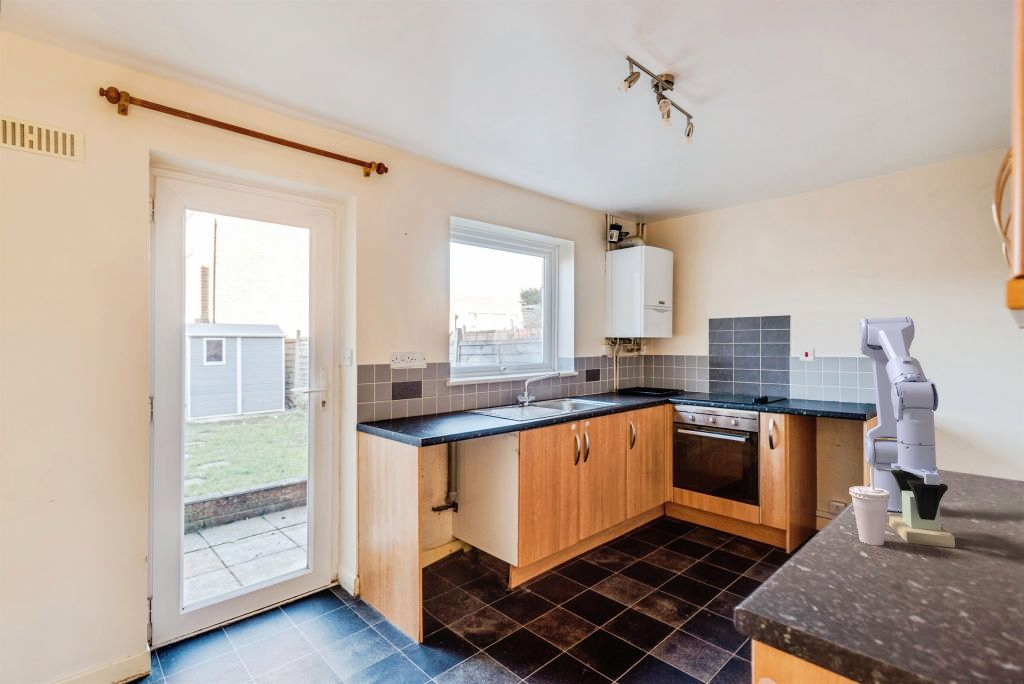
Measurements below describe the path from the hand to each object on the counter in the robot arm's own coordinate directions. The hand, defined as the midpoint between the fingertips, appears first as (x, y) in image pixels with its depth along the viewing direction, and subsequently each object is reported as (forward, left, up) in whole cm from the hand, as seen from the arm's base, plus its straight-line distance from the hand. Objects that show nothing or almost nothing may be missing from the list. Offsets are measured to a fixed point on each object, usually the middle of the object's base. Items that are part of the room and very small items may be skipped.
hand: (919, 513), depth 95 cm
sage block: (0, 0, -2) cm, 2 cm away
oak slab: (0, 0, -4) cm, 4 cm away
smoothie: (+7, -10, -5) cm, 12 cm away
